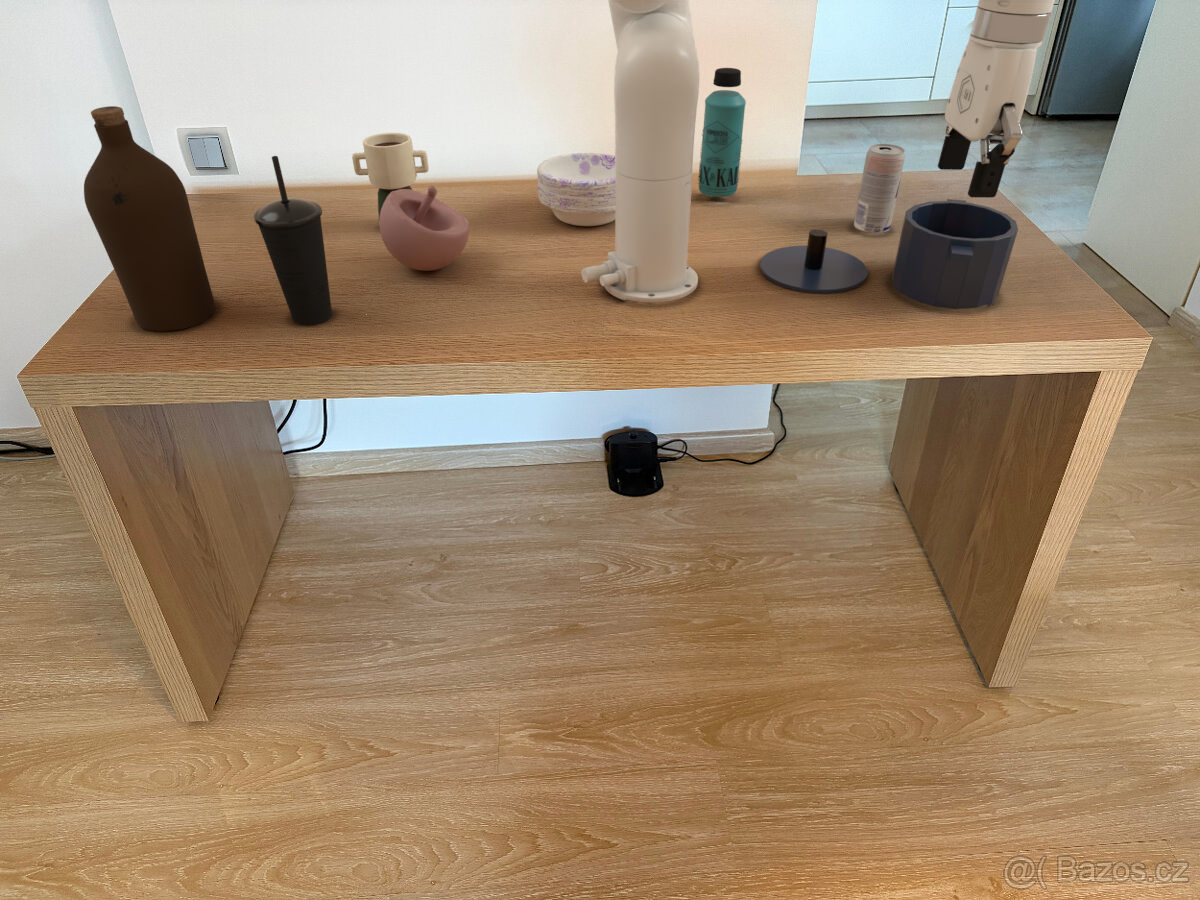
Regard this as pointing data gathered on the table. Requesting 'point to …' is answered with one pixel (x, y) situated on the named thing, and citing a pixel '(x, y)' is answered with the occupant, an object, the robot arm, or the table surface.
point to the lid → (813, 267)
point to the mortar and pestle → (422, 229)
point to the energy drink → (879, 188)
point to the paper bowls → (579, 188)
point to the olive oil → (146, 229)
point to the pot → (953, 254)
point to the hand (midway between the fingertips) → (965, 182)
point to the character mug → (390, 163)
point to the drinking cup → (297, 253)
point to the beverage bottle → (722, 136)
